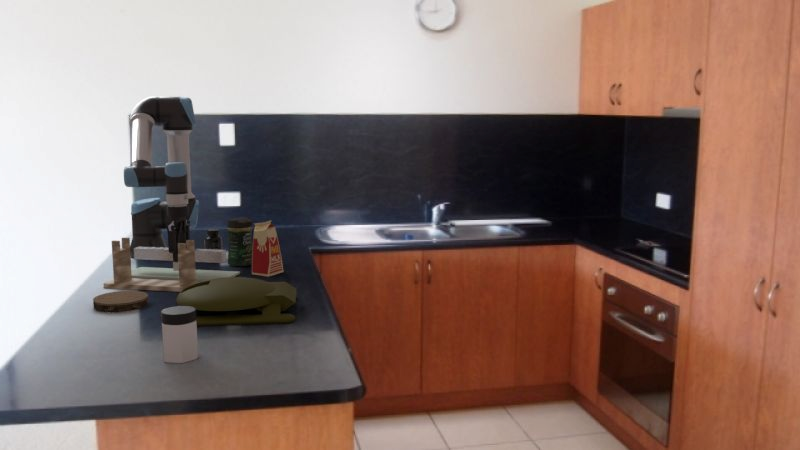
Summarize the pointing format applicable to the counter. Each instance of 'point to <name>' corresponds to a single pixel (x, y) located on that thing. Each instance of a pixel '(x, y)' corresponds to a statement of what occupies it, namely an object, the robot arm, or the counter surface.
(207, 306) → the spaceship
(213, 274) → the sage mat
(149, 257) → the steel rail
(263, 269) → the milk carton
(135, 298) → the wooden log slice
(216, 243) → the supplement bottle
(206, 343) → the counter surface
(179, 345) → the jar
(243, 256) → the coffee jar
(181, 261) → the rail rack
